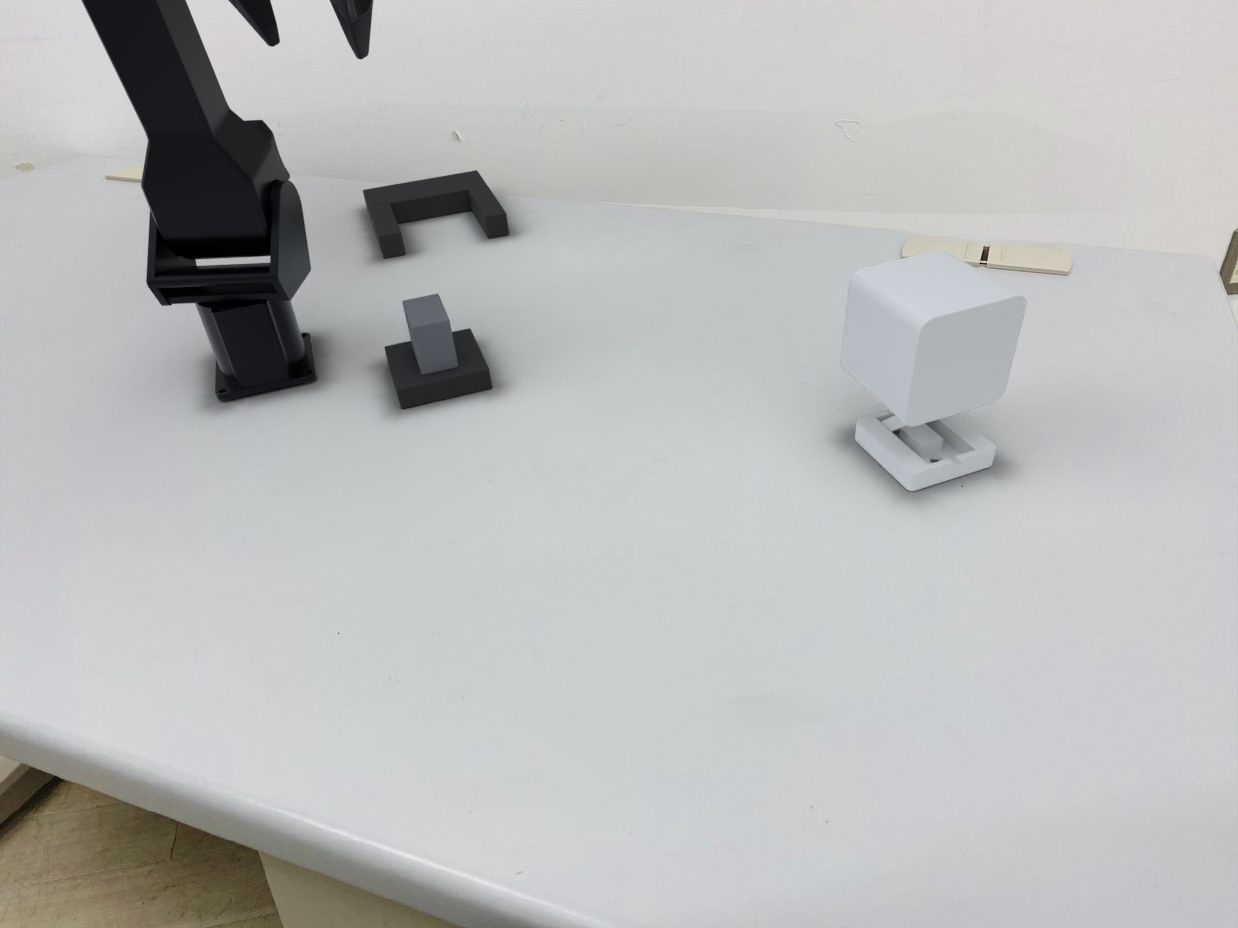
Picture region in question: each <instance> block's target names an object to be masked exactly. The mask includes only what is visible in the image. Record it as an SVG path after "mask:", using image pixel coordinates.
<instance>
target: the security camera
mask: <svg viewBox="0 0 1238 928" xmlns="http://www.w3.org/2000/svg"><path fill="white" fill-rule="evenodd" d="M846 294H847V295H846V304H845V314H844V323H843V330H842V331H843V332H842V333H843V334H842V339H841V340H842V341H841V348H840V349H841V350H840V359H839V366H840V368H841V370H842V371H843V372H844V373H845V374H847V375H848V376H849V377H851V378H852V380H854V381H855V382H857V384H858V385H860V386H861V387H862V388H864V389H865V390H866V391H867V392H868V393H869V394H870V395H872V396H873V397H874V398H875V399H876V400H877V401H879V402H880V404H882V405H883V406H884V407H885V408H887V409H888V411H887V410H886V411H884V412H880V413H877V414H873V415H870V416H866V417H863V418H860V419H857V420H856V426H855V433H854V441H855V442H856V443H857V444H858V445H859V446H860V447H861V448H862V449H864V450H865V452H867V453H868V454H869V456H871V457H872V458H873V459H874V460H875V461H876V462H877V463H878V464H879V465H880V466H881V467H882V468H883V469H884V470H885V471H886V472H887V473H888V474H890V475H891V476H892V477H893V478H894V479H895V480H896V481H897V482H898V483H899V484H900V485H902V487H903V488H904V489H906V490H907V491H909V492H916V491H919V490H921V489H922V490H923V489H925V488H929V487H932V486H935V485H938V484H941V483H943V482H946V481H950V480H953V479H957V478H960V477H963V476H966V475H970V474H972V473H976V472H979V471H981V470H985V469H987V468H991V467H992V466H993V462H994V459H995V455H996V451H997V445H996V443H994V442H993V441H991V440H990V439H989V438H987V437H986V436H985V435H984V434H982V433H981V432H980V431H978V429H976V428H975V427H973V426H972V425H971V424H970V423H969V422H967V421H966V420H965V419H963V418H962V417H961V416H960V415H958V414H961V413H964V412H968V411H971V410H974V409H978V408H981V407H985V406H987V405H991V404H994V403H996V402H997V401H998V400H1000V399H1001V398H1002V396H1004V394H1005V392H1006V391H1007V386H1008V382H1009V378H1010V374H1011V370H1012V366H1013V362H1014V358H1015V355H1016V351H1017V346H1018V342H1019V339H1020V333H1021V330H1022V327H1023V326H1022V325H1023V323H1024V317H1025V314H1026V310H1027V309H1026V308H1027V304H1028V303H1027V299H1026V297H1025V296H1024V295H1022V294H1021V293H1019V292H1017V291H1015V290H1014V289H1012V288H1011V287H1009V286H1007V285H1005V284H1004V283H1002V282H1000V281H998V280H996V279H995V278H993V277H991V276H989V275H988V274H986V273H984V272H983V271H981V270H979V269H977V267H975V266H972V265H971V264H969V263H967V262H966V261H964V260H963V259H960V258H959V257H957V256H956V255H954V254H952V253H950V252H949V251H946V250H945V249H937V250H933V251H929V252H924V253H921V254H916V255H913V256H907V257H904V258H903V257H902V258H900V259H896V260H891V261H887V262H883V263H879V264H875V265H870V266H866V267H862V268H860V269H858V270H856V271H855V272H854V273H853V274H852V276H851V277H850V279H849V281H848V287H847V293H846ZM931 461H934V462H931Z"/></svg>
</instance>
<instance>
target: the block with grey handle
mask: <svg viewBox="0 0 1238 928" xmlns="http://www.w3.org/2000/svg"><path fill="white" fill-rule="evenodd" d="M401 303H402V307H403V311H404V315H405V320H406V324H407V329H408V333H409V339H410V340H408V341H407V340H406V341H403V342H399V343H393V344H388V345H384V348H383V349H384V352H385V356H386V357H385V358H386V360H387V365H388V368H389V371H390V375H391V378H392V383H393V386H394V389H395V393H396V396H397V397H396V398H397V400H398V403H399V404H398V405H399V407H400V409H402V410H403V409H407V408H412V407H416V406H421V405H424V404H425V405H426V404H429V403H434V402H439V401H443V400H447V399H451V398H457V397H460V396H464V395H468V394H473V393H477V392H482V391H485V390H489V389H492V388H493V382H492V376H491V371H490V367H489V366H488V364H487V361H486V359H485V357H484V355H483V353H482V350H481V348H480V346H479V344H478V342H477V340H476V337H475V335H474V333H473V330H472V329H471V328H470V327H468V328H464V329H459V330H454V331H453V330H452V326H451V320H450V318H449V316H448V312H447V311H446V308H445V306H444V304H443V301H442V299H441V297H440V295H439V293H434V294H428V295H424V296H419V297H413V298H409V299H404V300H402V301H401Z"/></svg>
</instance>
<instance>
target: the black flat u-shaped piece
mask: <svg viewBox="0 0 1238 928" xmlns="http://www.w3.org/2000/svg"><path fill="white" fill-rule="evenodd" d="M362 194H363V198H364V202H365V206H366V210H367V212H368V213H367V214H368V216H369V219H370V222H371V226H372V229H373V231H374V235H375V237H376V240H377V243H378V246H379V249H380V252H381V255H382V258H383V259H388V258H394V257H398V256H404V255H407V253H406V248H405V244H404V239H403V235H402V231H401V228H400V226H399V224H402V223H409V222H413V221H419V220H424V219H425V220H426V219H430V218H436V217H441V216H447V215H452V214H458V213H463V212H468V211H469V212H470V211H471V212H472V214H473V215H474V217H475V218H476V221H477V222H478V224H479V225H480V227H481V228H482V230H483V232H484V234H485V235H486V237H487V238H488V239H494V238H498V237H504V236H509V235H510V229H509V223H508V216H507V212H506V211H505V209H504V207H503V206H502V205H501V203H500V201H499V200H498V199H497V197H496V196H495V194H494V193H493V191H492V190H491V188H490V187H489V186H488V184H487V182H486V181H485V179H484V178H483V177H482V175H481V174H480V172H479V170H477V169H476V170H470V171H463V172H459V173H453V174H447V175H442V176H435V177H429V178H423V179H417V180H413V181H407V182H406V181H405V182H400V183H395V184H389V185H384V186H383V185H382V186H378V187H372V188H366V189H362Z"/></svg>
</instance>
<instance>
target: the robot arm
mask: <svg viewBox="0 0 1238 928" xmlns="http://www.w3.org/2000/svg"><path fill="white" fill-rule="evenodd" d="M227 1H228V2H229V3H230V4H231V5H232V6H233V8H234V9H235V10H236V11H237V12H238V13H239V14H240V15H241V17H243V19H244V20H245V21H246V22H247V23H248V24H249V26H251V28H252V29H253V30H254V31H255V32H256V33H257V35H258V36H259V37H260V38H261V39H262V41H264V43H265V44H266V45H267V46H268V47H271V48H273V47H275V46H277V45H279V44H280V42H281V39H280V34H279V33H280V32H279V27H278V22H277V19H276V16H275V11H274V8H273V5H272V1H271V0H227ZM80 2H81V3H82V5H83V7H84V9H85V11H86V13H87V15H88V17H89V19H90V21H91V23H92V25H93V27H94V30H95V31H96V34H97V36H98V38H99V40H100V42H101V44H102V46H103V48H104V51H105V52H106V55H107V57H108V58H109V61H110V62H111V63H110V64H111V65H112V67H113V69H114V71H115V73H116V75H117V77H118V79H119V81H120V84H121V85H122V87H123V90H124V91H125V94H126V95H127V98H128V100H129V102H130V104H131V106H132V107H133V110H134V112H135V114H136V115H137V118H138V120H139V123H140V124H141V126H142V129H143V131H144V133H145V136H146V139H147V145H146V149H145V158H144V162H143V163H144V164H143V169H142V174H141V175H142V176H141V183H140V187H141V190H142V193H143V195H144V197H145V200H146V203H147V205H148V208H149V217H148V218H149V220H148V222H149V223H148V239H147V242H148V243H147V257H146V259H147V260H146V275H145V276H146V280H145V282H146V286H147V287H148V289H149V290H150V292H151V293H152V294H153V296H154V297H155V299H156V300H157V301H158V303H159V305H160V306H162V307H169V306H172V305H183V304H186V305H187V304H194V305H195V308H196V310H197V312H198V316H199V318H200V321H201V323H202V326H203V328H204V331H205V333H206V336H207V339H208V340H209V344H210V346H211V347H210V348H211V349H212V351H213V354H214V357H215V373H214V374H215V376H214V394H215V396H216V399H217V400H219V401H226V400H230V399H231V400H232V399H235V398H240V397H244V396H249V395H253V394H258V393H263V392H267V391H271V390H277V389H281V388H285V387H290V386H295V385H299V384H303V383H309V382H312V381H315V380H316V379H317V378H318V371H317V364H316V358H315V350H314V345H313V339H312V336H311V335H312V334H311V333H310V332H306V331H305V332H301V329H300V326H299V322H298V320H297V317H296V314H295V310H294V307H293V304H292V300H293V298H294V296H295V295H296V293H297V292H298V290H299V289H300V288H301V286H302V285H303V283H304V281H305V280H306V279H307V277H308V276H309V274H310V272H312V265H311V257H310V251H309V250H310V249H309V246H308V245H309V244H308V237H307V231H306V223H305V218H304V217H305V216H304V211H303V204H302V200H301V196H300V193H299V192H298V189H297V187H296V185H295V184H294V183H293V182H292V181H291V180H290V179H291V174H290V172H289V171H288V169H287V168H286V165H285V163H284V162H283V159H282V157H281V154H280V151H279V148H278V145H277V142H276V138H275V135H274V132H273V130H272V129H271V128H270V127H269V125H268V124H267V123H266V122H265V121H264V120H263V119H249V120H244V119H243V118H242V117H241V116H239V115H238V114H237V113H236V112H234V111H233V110H232V109H231V108H230V106H229V104H228V102H227V99H226V96H225V95H224V91H223V89H222V87H221V85H220V82H219V80H218V77H217V75H216V72H215V69H214V68H213V67H214V66H213V64H212V61H211V60H210V57H209V55H208V52H207V49H206V47H205V45H204V41H203V40H202V37H201V34H200V32H199V29H198V27H197V25H196V22H195V20H194V17H193V15H192V13H191V10H190V6H189V5H188V2H187V0H81V1H80ZM329 2H330V4H331V7H332V9H333V11H334V14H335V17H336V18H337V21H338V23H339V25H340V27H341V29H342V32H343V34H344V36H345V38H346V41H347V43H348V46H349V47H350V49H351V51H352V53H353V54H354V56H355V57H356V59H357V60H363V59H365V58H366V57H368V56H369V53H370V45H371V43H370V42H371V30H372V20H373V19H372V18H373V8H374V0H329ZM258 257H259V258H260V257H269V262H252V263H230V264H210V265H209V264H208V265H207V264H206V265H197V260H212V259H213V260H214V259H217V260H218V259H236V258H258Z"/></svg>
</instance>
